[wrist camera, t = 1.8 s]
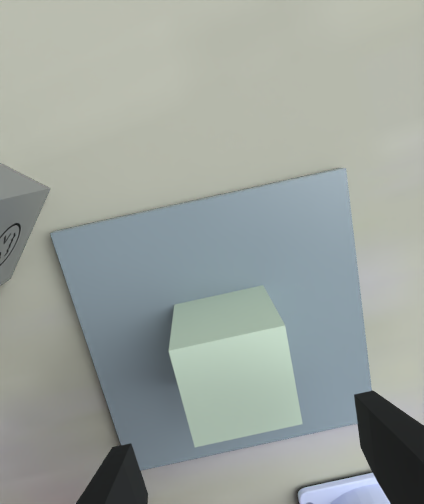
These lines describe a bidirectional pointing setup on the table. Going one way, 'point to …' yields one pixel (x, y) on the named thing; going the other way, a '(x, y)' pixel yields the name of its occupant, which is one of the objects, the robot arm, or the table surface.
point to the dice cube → (17, 215)
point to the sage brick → (233, 366)
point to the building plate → (216, 283)
